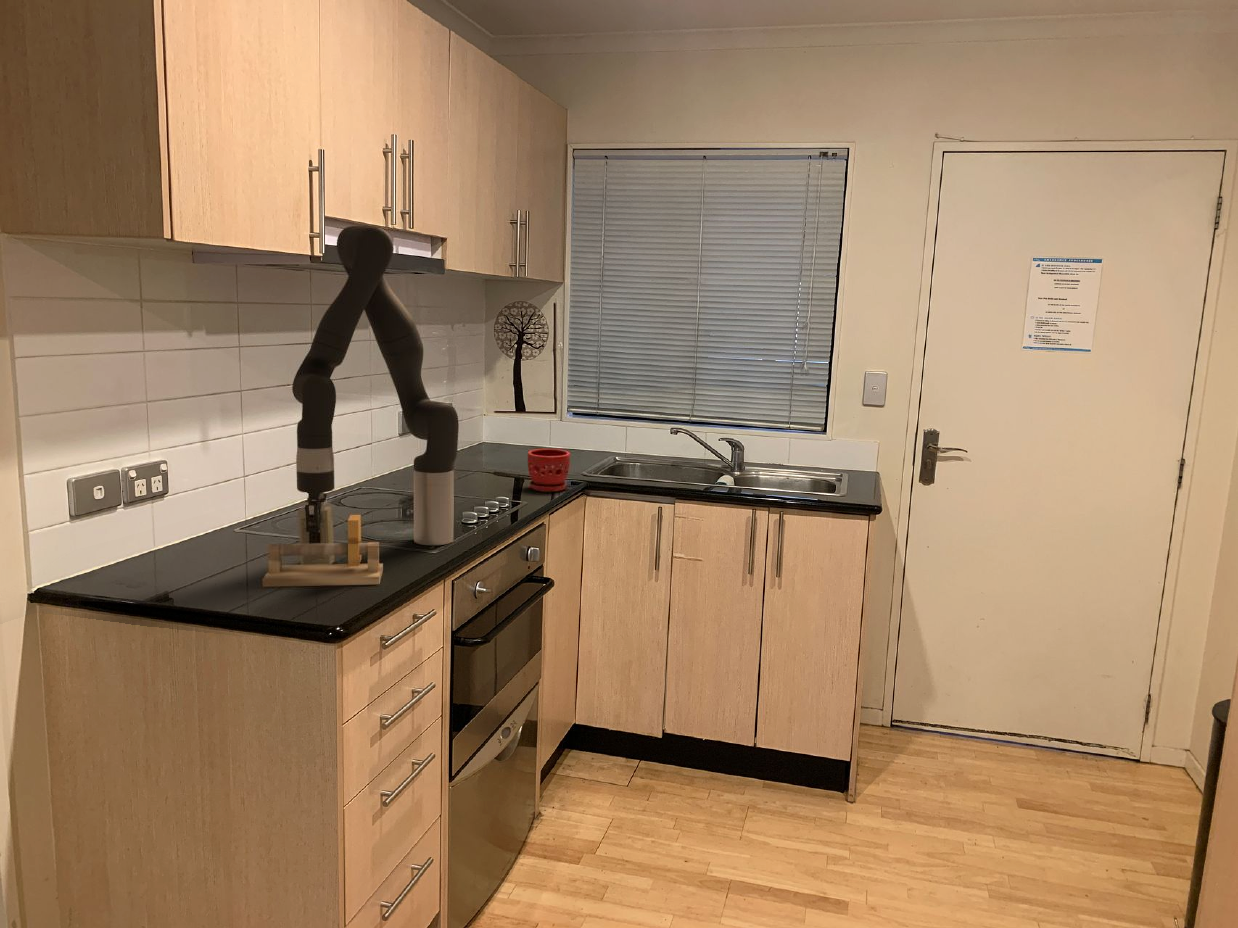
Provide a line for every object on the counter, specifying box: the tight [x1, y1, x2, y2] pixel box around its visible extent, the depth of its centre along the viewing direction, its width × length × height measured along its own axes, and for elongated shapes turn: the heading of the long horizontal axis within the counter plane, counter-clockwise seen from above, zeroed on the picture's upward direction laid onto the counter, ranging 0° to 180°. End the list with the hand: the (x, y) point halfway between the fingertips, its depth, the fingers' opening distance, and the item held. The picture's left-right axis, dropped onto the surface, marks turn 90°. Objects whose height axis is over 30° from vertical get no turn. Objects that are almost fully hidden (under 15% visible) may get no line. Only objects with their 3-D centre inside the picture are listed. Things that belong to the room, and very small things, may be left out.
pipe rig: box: [262, 541, 384, 588], centre depth 183 cm, size 10×22×9 cm, turn 100°
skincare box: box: [297, 505, 335, 565], centre depth 193 cm, size 6×4×12 cm
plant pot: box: [527, 448, 571, 493], centre depth 282 cm, size 13×13×12 cm
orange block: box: [347, 514, 362, 566], centre depth 183 cm, size 6×2×9 cm, turn 10°
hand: (317, 545), depth 193 cm, fingers open, 5 cm apart
